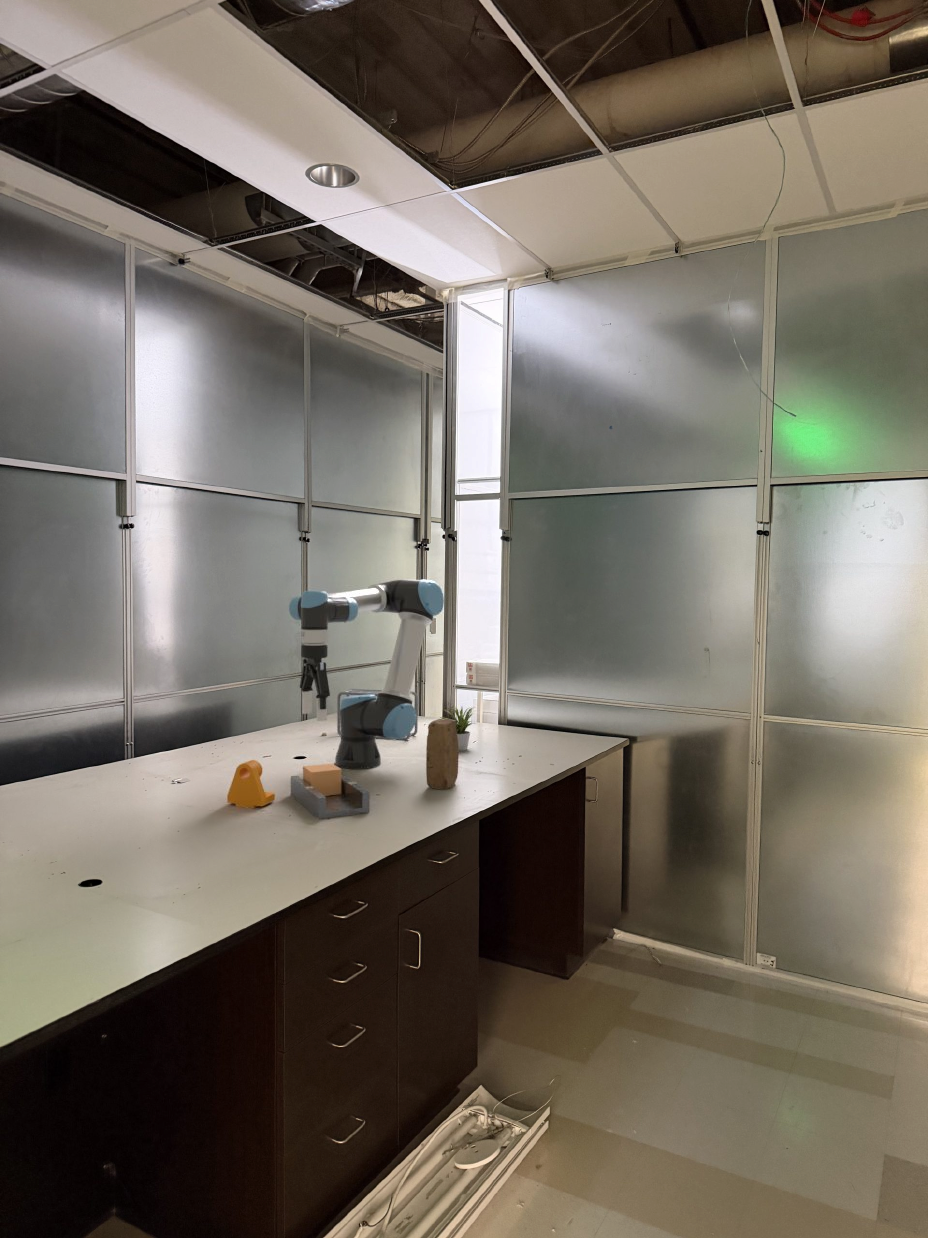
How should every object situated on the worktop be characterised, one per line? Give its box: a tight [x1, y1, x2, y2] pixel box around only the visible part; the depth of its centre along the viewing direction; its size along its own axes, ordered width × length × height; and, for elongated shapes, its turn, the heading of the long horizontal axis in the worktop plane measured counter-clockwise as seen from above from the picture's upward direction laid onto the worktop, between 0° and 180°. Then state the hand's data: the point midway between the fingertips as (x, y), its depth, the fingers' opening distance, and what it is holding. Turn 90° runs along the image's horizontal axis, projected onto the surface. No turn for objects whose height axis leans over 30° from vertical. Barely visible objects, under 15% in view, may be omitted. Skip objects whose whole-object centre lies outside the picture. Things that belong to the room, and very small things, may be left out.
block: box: [425, 718, 459, 790], centre depth 246 cm, size 11×8×20 cm
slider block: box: [302, 763, 342, 796], centre depth 231 cm, size 8×9×7 cm
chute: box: [290, 773, 371, 820], centre depth 226 cm, size 26×14×6 cm, turn 28°
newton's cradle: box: [336, 688, 419, 741], centre depth 323 cm, size 30×10×18 cm, turn 76°
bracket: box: [226, 759, 276, 809], centre depth 225 cm, size 11×7×12 cm, turn 73°
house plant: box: [439, 706, 477, 752], centre depth 301 cm, size 14×14×16 cm
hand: (314, 717), depth 238 cm, fingers open, 13 cm apart
